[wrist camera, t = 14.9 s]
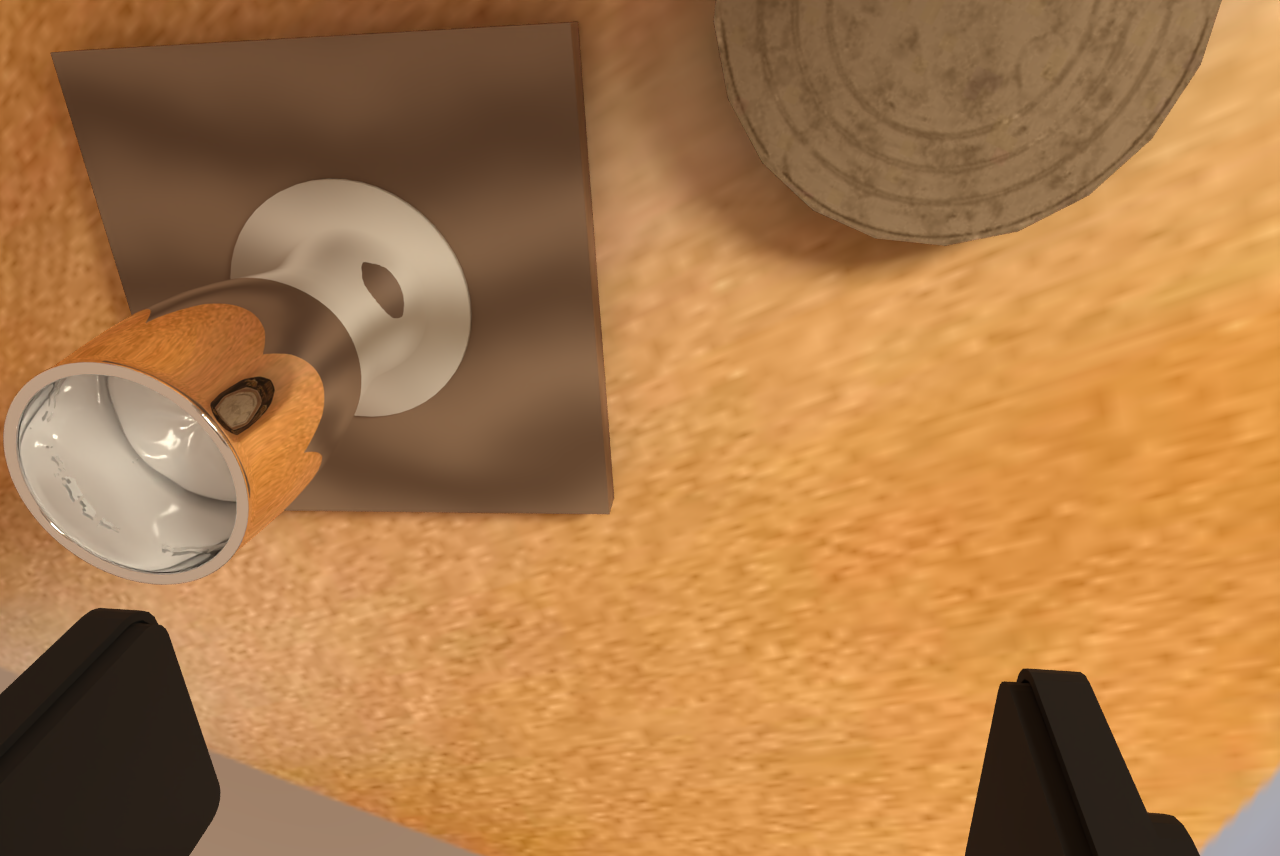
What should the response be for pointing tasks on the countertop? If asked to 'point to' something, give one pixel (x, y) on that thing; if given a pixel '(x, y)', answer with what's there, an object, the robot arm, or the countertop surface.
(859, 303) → the countertop surface
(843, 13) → the brown flat disc
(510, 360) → the coaster board
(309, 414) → the shiny metal tumbler
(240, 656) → the countertop surface
